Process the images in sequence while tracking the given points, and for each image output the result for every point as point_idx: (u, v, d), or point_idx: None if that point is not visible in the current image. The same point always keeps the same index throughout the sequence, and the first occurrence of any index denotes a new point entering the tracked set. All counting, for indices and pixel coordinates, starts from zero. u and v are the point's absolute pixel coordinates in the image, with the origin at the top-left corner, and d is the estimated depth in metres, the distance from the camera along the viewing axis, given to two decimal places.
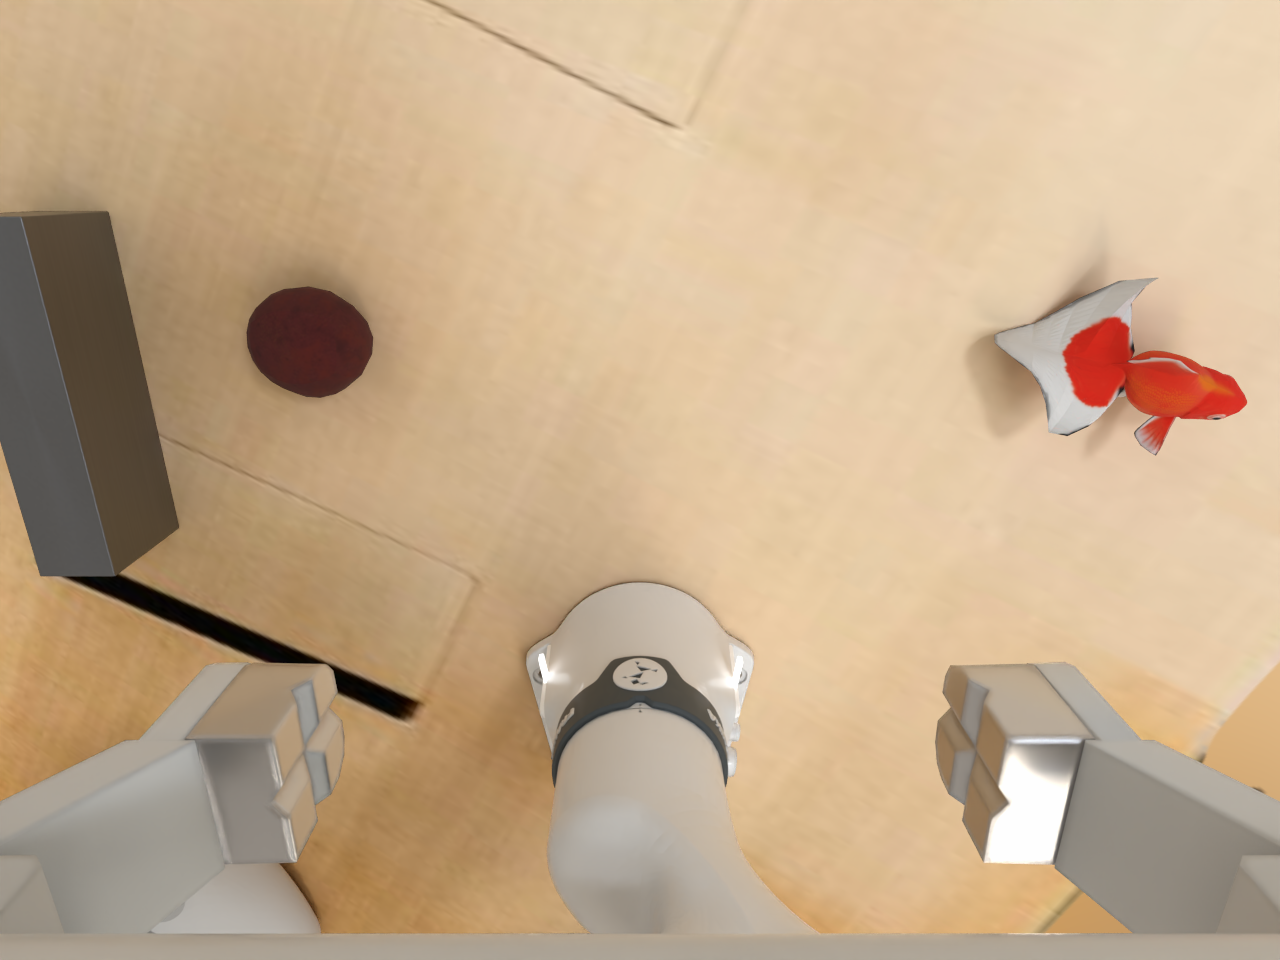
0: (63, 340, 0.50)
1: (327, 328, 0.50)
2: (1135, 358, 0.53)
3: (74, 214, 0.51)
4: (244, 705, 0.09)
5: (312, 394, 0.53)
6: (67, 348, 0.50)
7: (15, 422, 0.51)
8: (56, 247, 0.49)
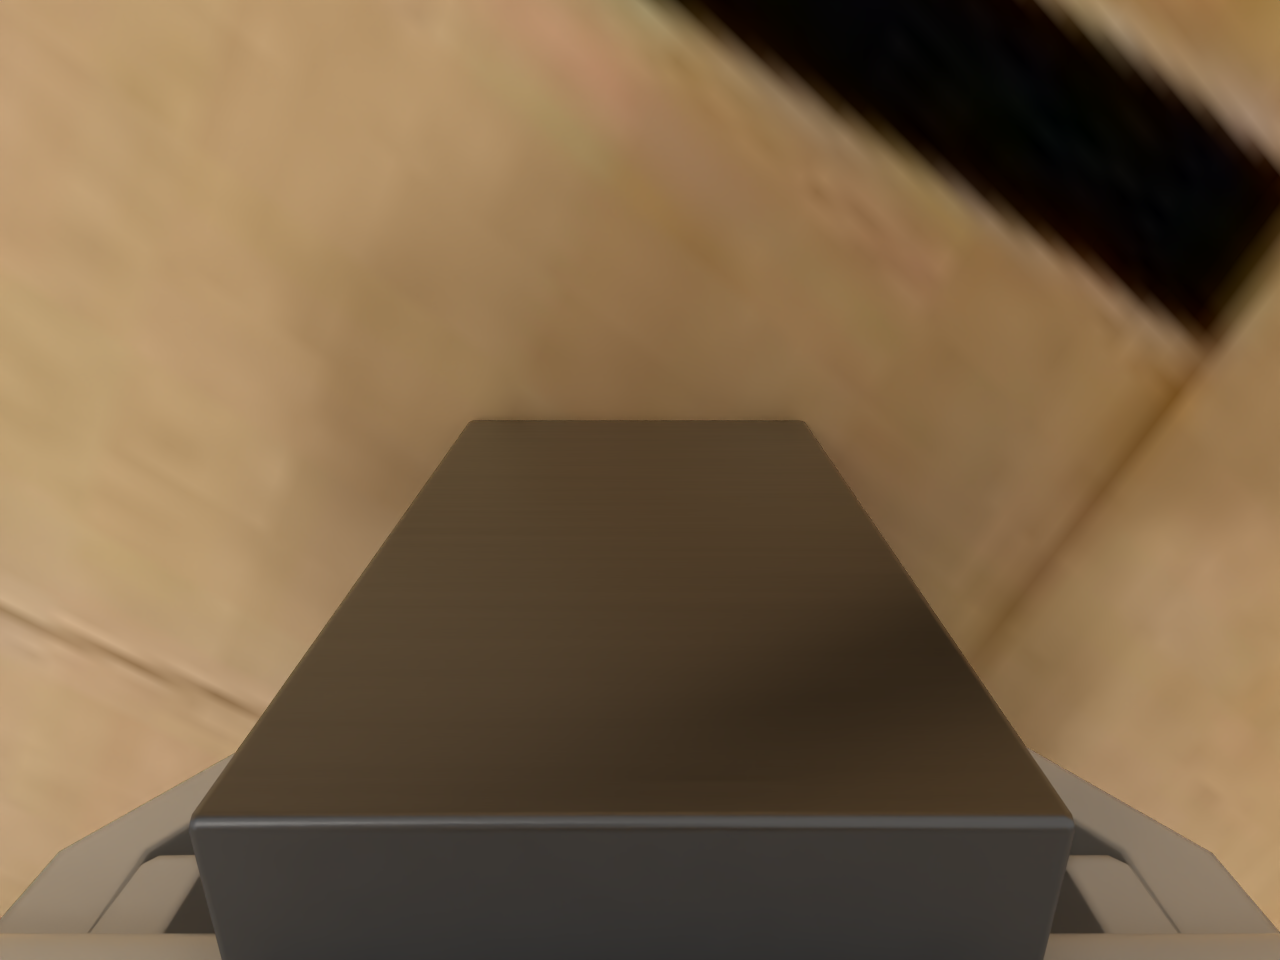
0: None
1: None
2: None
3: None
4: None
5: None
6: None
7: None
8: None
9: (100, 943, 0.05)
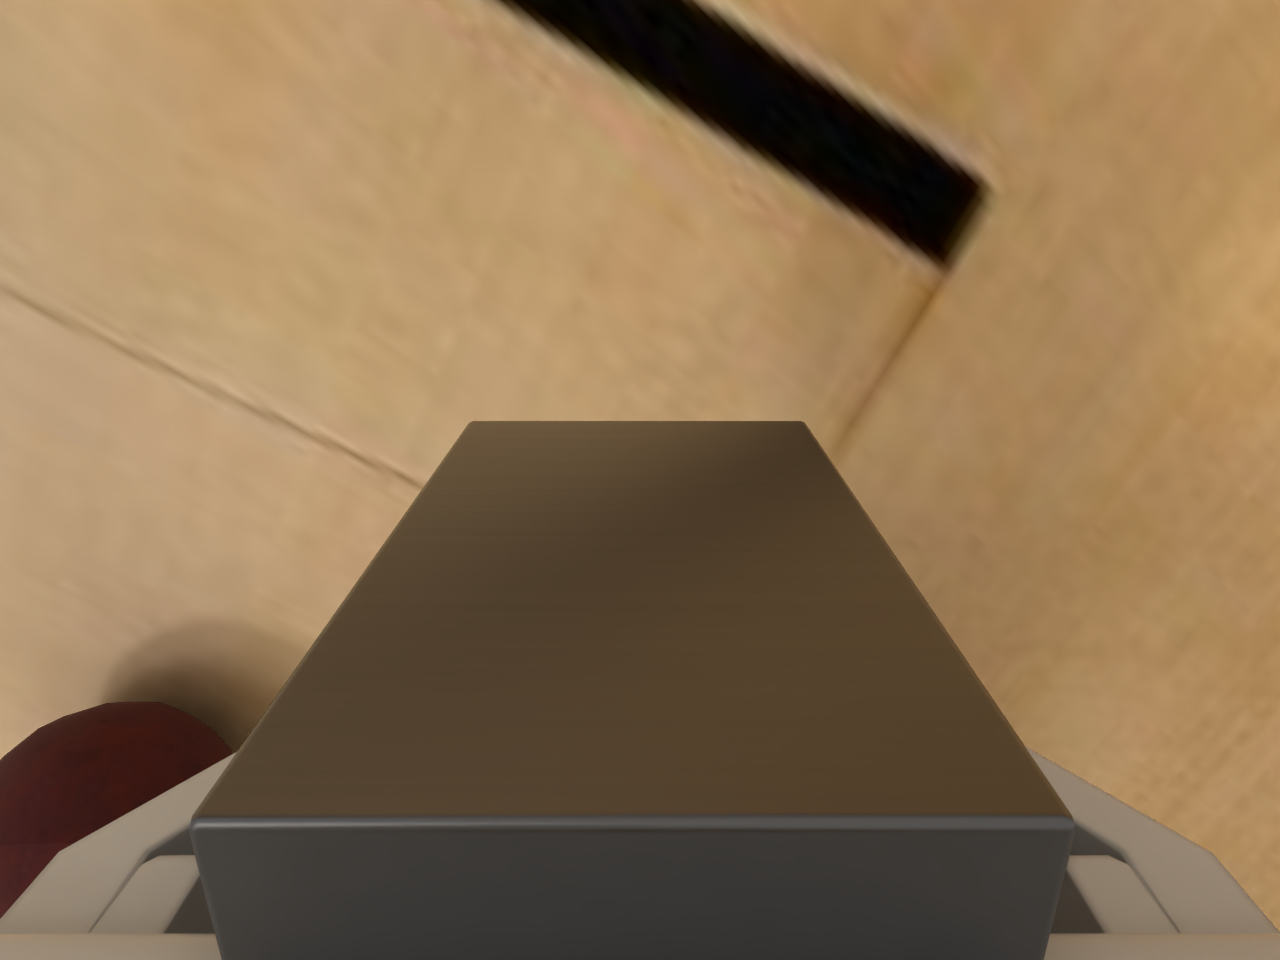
0: None
1: None
2: None
3: None
4: None
5: (29, 787, 0.22)
6: None
7: None
8: None
9: (100, 943, 0.05)
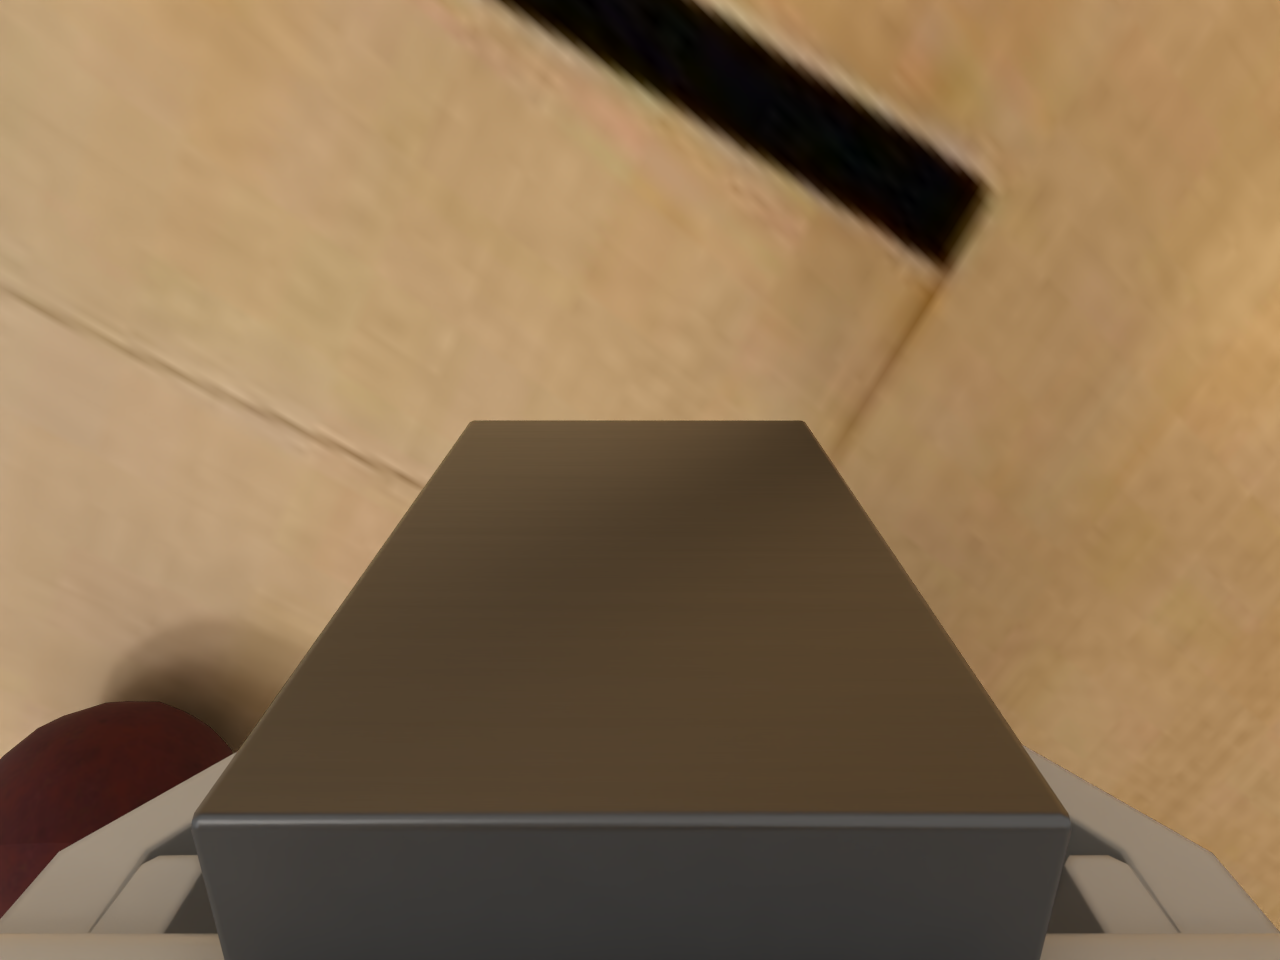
0: None
1: None
2: None
3: None
4: None
5: (29, 786, 0.22)
6: None
7: None
8: None
9: (100, 943, 0.05)
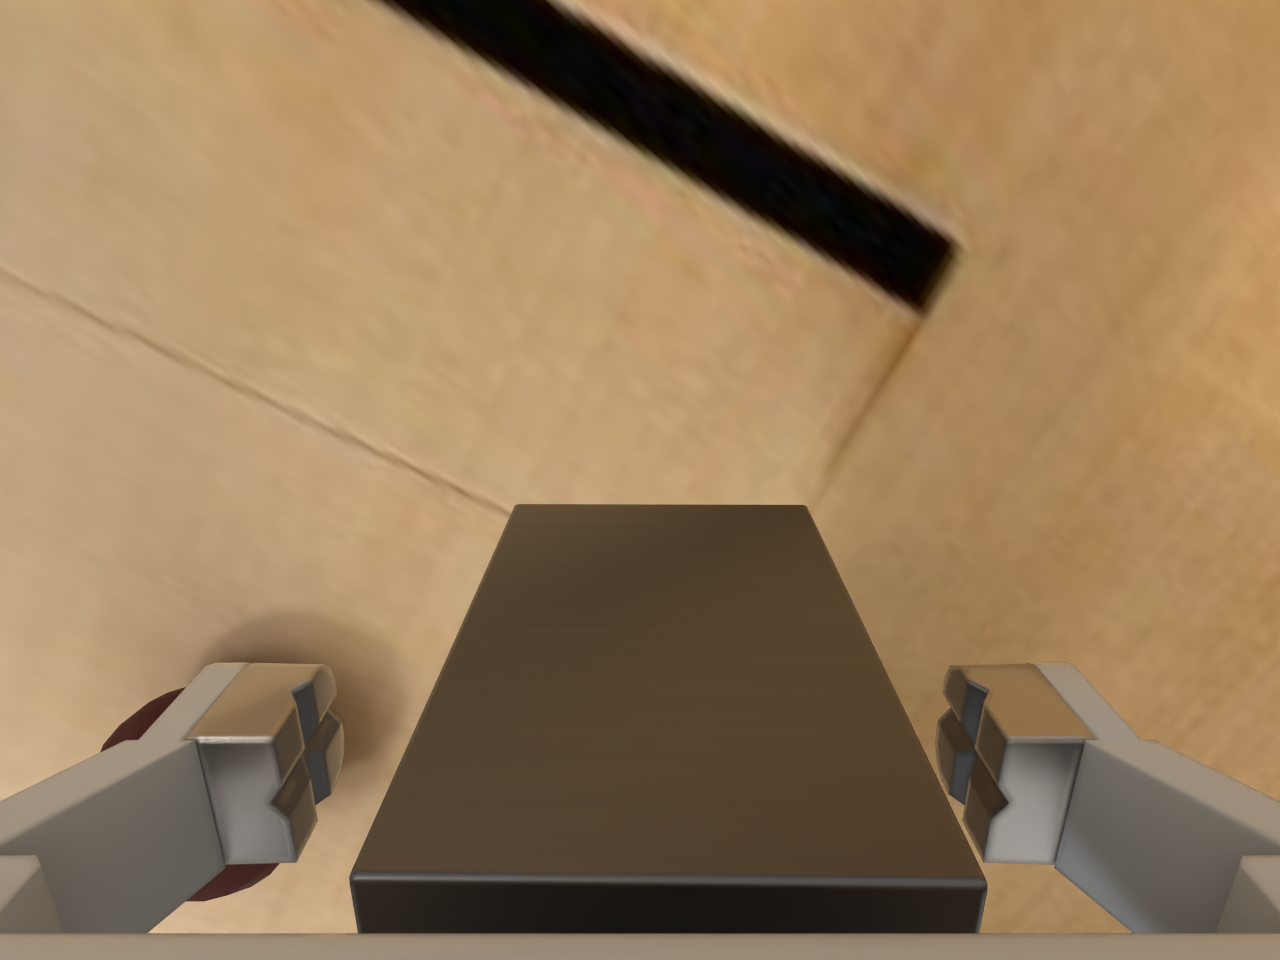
0: None
1: None
2: None
3: None
4: (244, 705, 0.09)
5: None
6: None
7: None
8: None
9: (100, 943, 0.05)
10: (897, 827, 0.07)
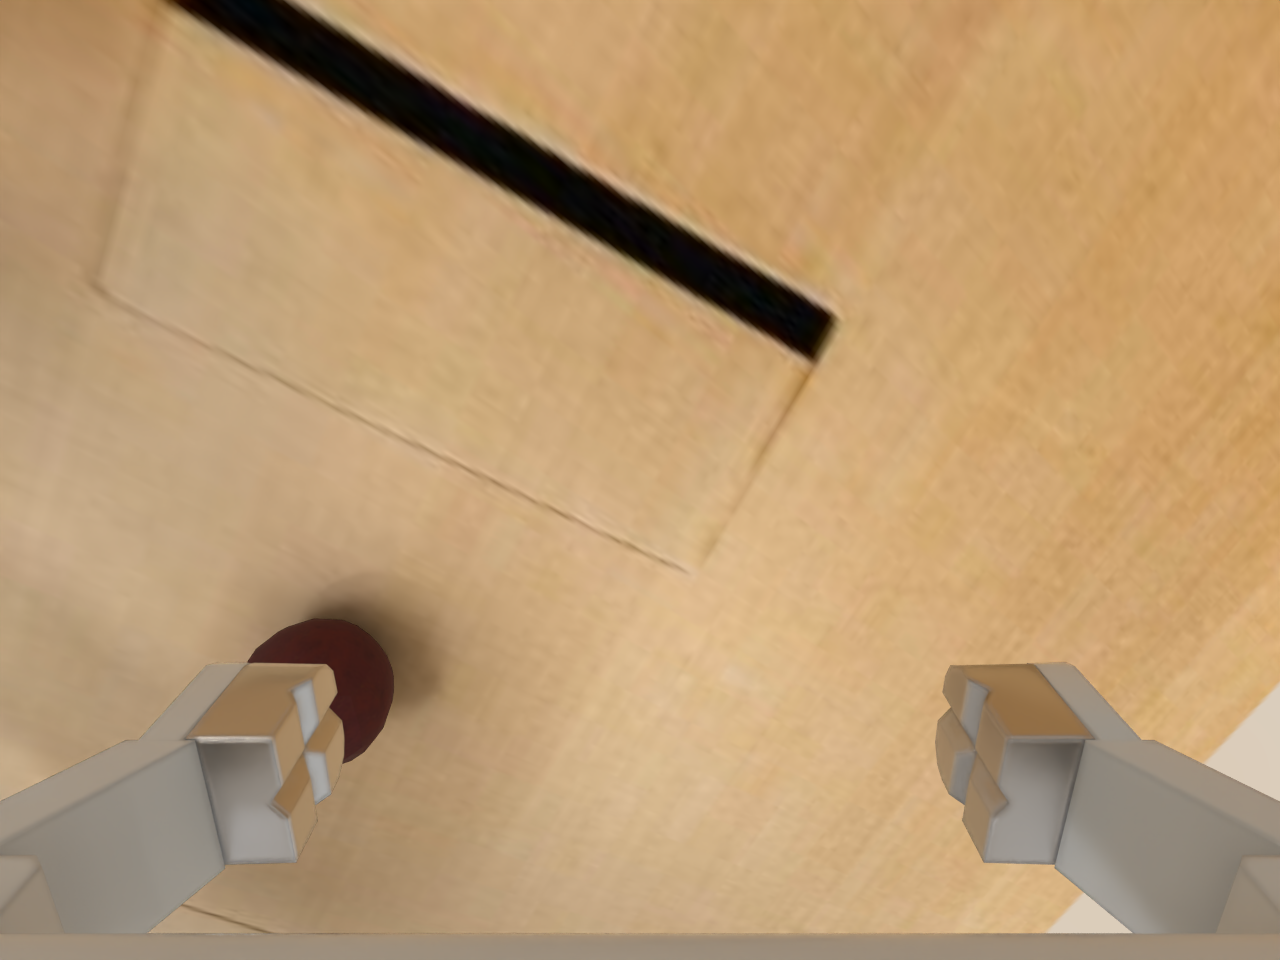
0: None
1: None
2: None
3: None
4: (244, 705, 0.09)
5: (286, 660, 0.38)
6: None
7: None
8: None
9: (100, 943, 0.05)
10: None
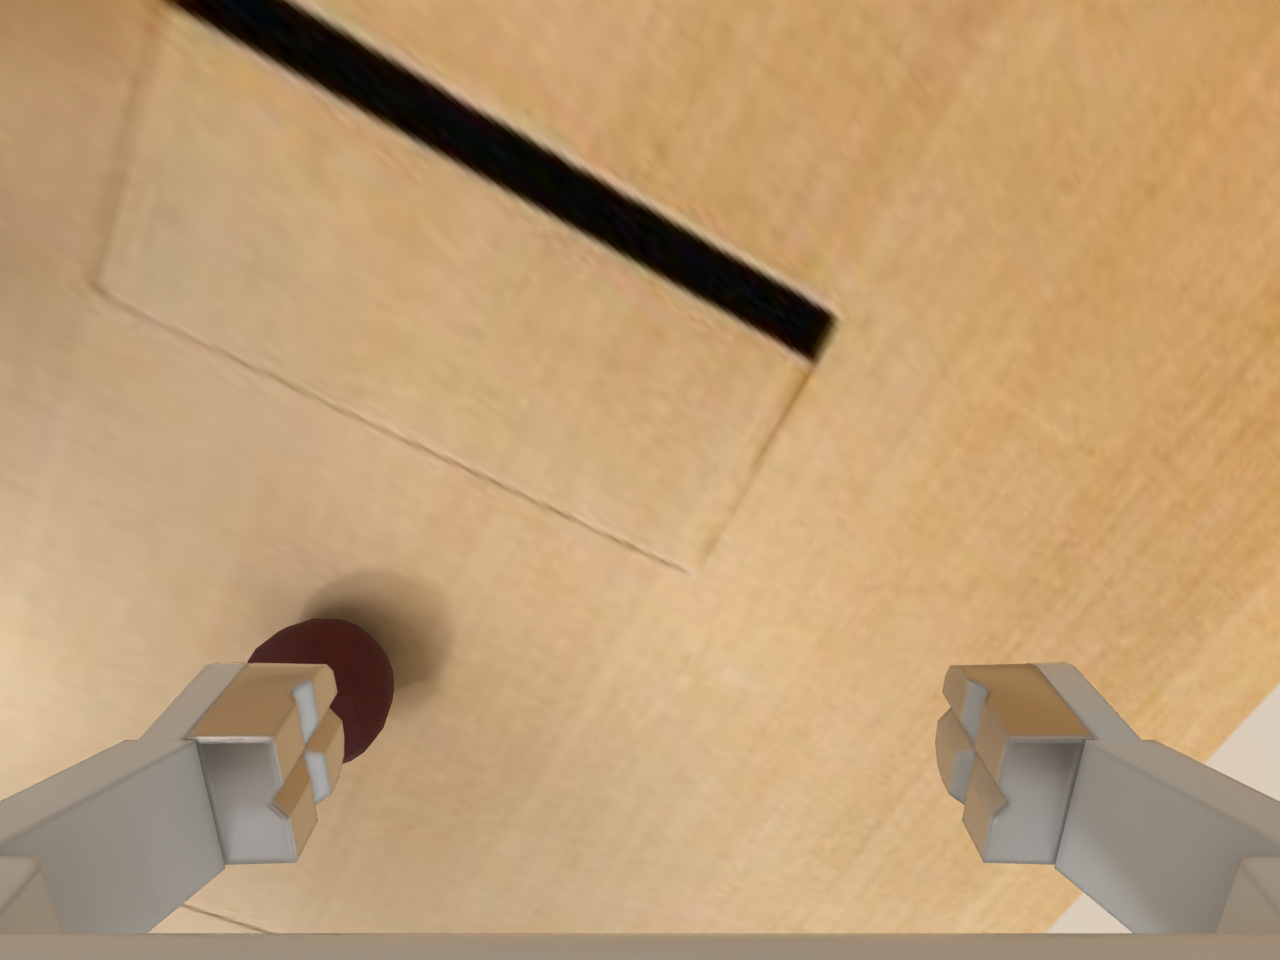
0: None
1: None
2: None
3: None
4: (244, 705, 0.09)
5: (286, 660, 0.38)
6: None
7: None
8: None
9: (100, 943, 0.05)
10: None
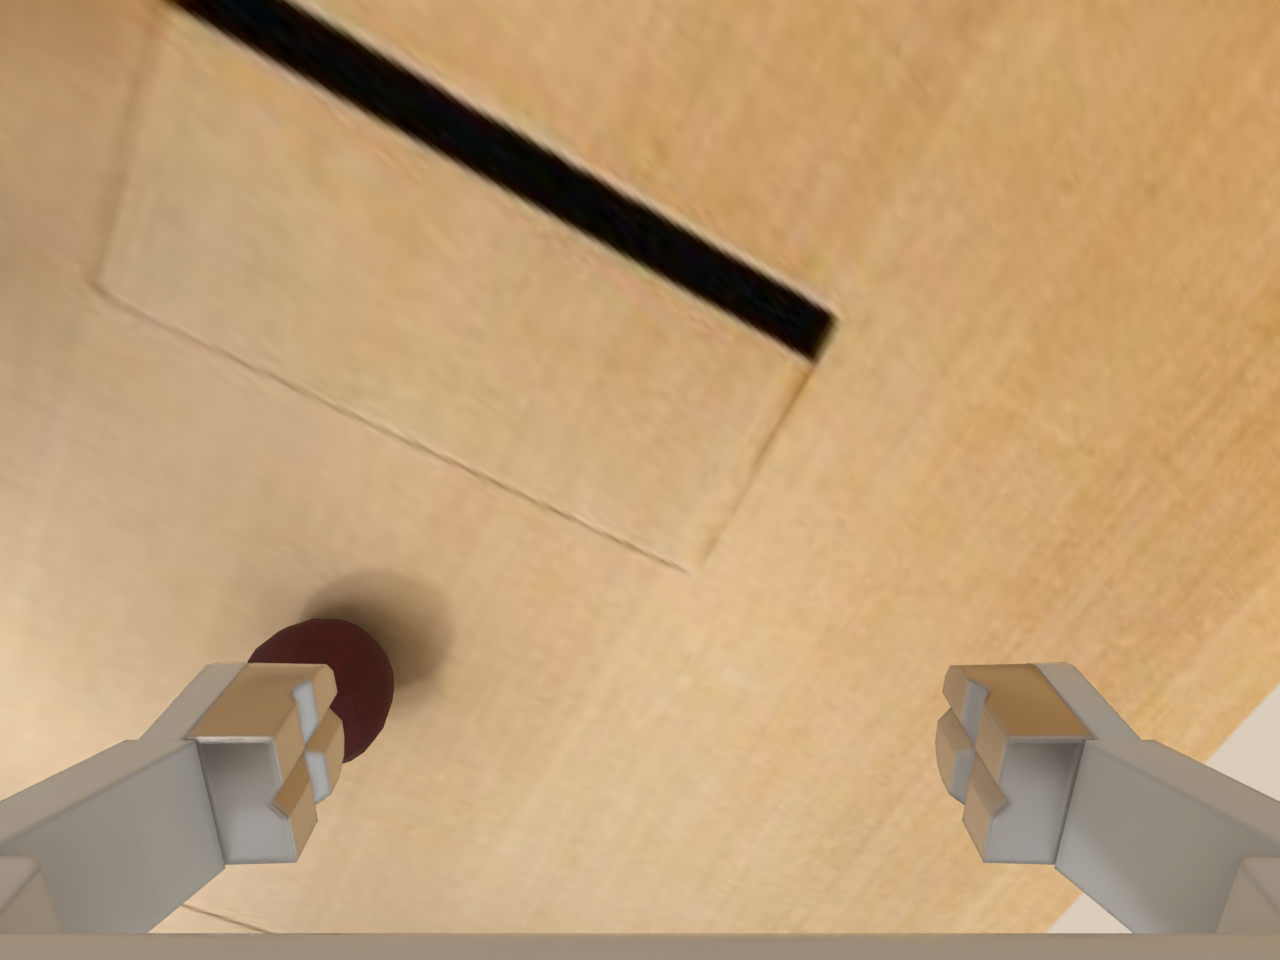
0: None
1: None
2: None
3: None
4: (244, 705, 0.09)
5: (286, 660, 0.38)
6: None
7: None
8: None
9: (100, 943, 0.05)
10: None
